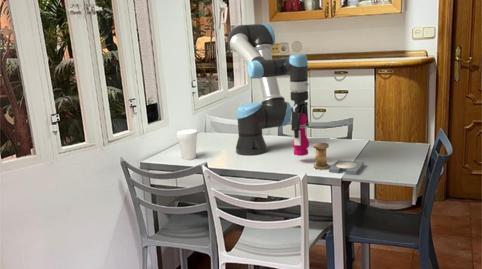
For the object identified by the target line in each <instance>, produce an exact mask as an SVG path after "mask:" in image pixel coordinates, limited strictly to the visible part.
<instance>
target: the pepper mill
mask: <svg viewBox="0 0 482 269" xmlns="http://www.w3.org/2000/svg"><path fill="white" fill-rule="evenodd" d="M306 121H307V116H306V115H305V114H304V113H302V115H301V118H300V129H299V130H300V134H301V145H294V139H293V140H292V147H293V155H295V156H297V157H298V156H299V157H301V156H302V157H304V156H308V154H309V150H308V148H309V145H310V142H309V139H308V136H307V137H306V134H305V127H306V124H305V123H306Z"/></svg>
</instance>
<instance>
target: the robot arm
mask: <svg viewBox="0 0 482 269" xmlns="http://www.w3.org/2000/svg"><path fill="white" fill-rule="evenodd" d="M275 44H276V35H275V31H274V28H273V27H272V26H271V25H270V24H268V23H256V24H254V23H253V24H240V25H237V26H235V27H234V28H231V30H230V31H229V34H228V36H227V45H228V47H229V48H230V50H232V51H233V52H235V53H237V55H239V56H240V58H241V59H242V60H243V61H244V62H245V64H246V65H247V73H248V76H249V77H250V78H251V79H258V80H259V84H260V89H261V93H262V101H260V102H261V103H260V102H249V103H245V104H242V105H239V107H238V108H237V112H236V118H237V129H238V138H237V142H236V146H235V152H236V154H237V155H242V156H255V155H260V154H264V153H266V152H267V150H268V148H267V147H268V146H267V144H266V141H265V138H264V136H263V130H264V129H271V128H281V127H285V126H288V125H289V123H290V122H291V131H293V140H294V145H301V134H300V130H299V129H300V118H301V115H302V113H304V114H305V115H306V116H307V121H306V123H305V124H306V127H305V134H306V137H307V138H308V132H307V127H309V125H310V124H309V113H308V112H309V110H308V107H309V106H308V105H309V104H308V100H309V91H308V90H309V85H310V83H309V80H308V79H309V77H308V76H309V74H308V73H309V72H308V70H309V68H308V67H309V66H308V65H309V64H308V63H309V62H308V56H307V55H306V54H305V53H295V54H290V55H289V57H286V56H285V57H282V58H273V55H272V50H273V48H274V46H275ZM282 76H283V77H285V76H289V84H290V85H289V86H290V87H289V89H290V101H293V102H294V104H293V106H291V104H290V102H288V101H286V100H285V97H283V95H281V93H280V88H279V84H278V78H277V77H282Z"/></svg>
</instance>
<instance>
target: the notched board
mask: <svg viewBox="0 0 482 269" xmlns="http://www.w3.org/2000/svg"><path fill="white" fill-rule="evenodd" d="M364 166H365V162H364V161H352V160H351V161H350V160H340V159H339V160H336V162H335V163H334V164H332V165H331V166H329V168H328V173H329V172H331V173H332V174H339V173H340V172H345V174H346V175H353V176H356V175H357V174H358V173H359V172H361V170H362V169H363V167H364ZM331 173H330V174H331Z"/></svg>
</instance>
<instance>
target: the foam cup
mask: <svg viewBox="0 0 482 269" xmlns="http://www.w3.org/2000/svg"><path fill="white" fill-rule="evenodd" d="M176 137H177V140H178V144H179V149H180V154H181V157H182V160H184V161H190V160H194V159H196V158H197V142H198V141H197V140H198V139H197V137H198V131H197V129H183V130H178V131H177V132H176Z"/></svg>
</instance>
